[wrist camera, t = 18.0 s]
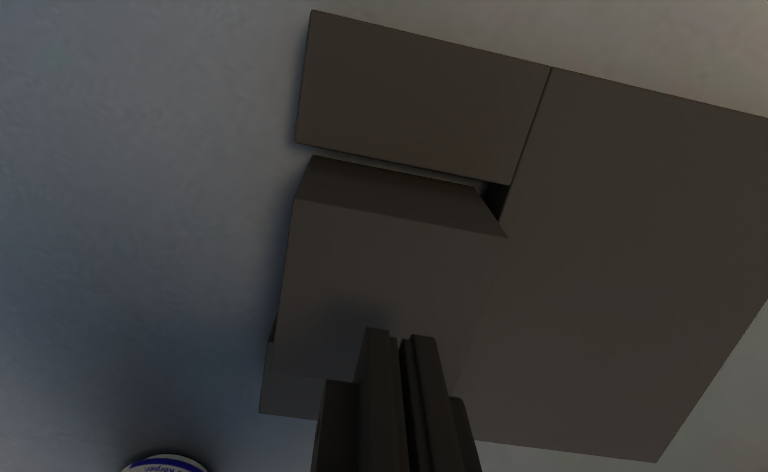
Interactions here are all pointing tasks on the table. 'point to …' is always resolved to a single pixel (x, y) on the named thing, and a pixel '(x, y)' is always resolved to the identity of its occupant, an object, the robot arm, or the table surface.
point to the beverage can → (165, 464)
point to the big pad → (561, 230)
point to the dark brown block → (381, 267)
